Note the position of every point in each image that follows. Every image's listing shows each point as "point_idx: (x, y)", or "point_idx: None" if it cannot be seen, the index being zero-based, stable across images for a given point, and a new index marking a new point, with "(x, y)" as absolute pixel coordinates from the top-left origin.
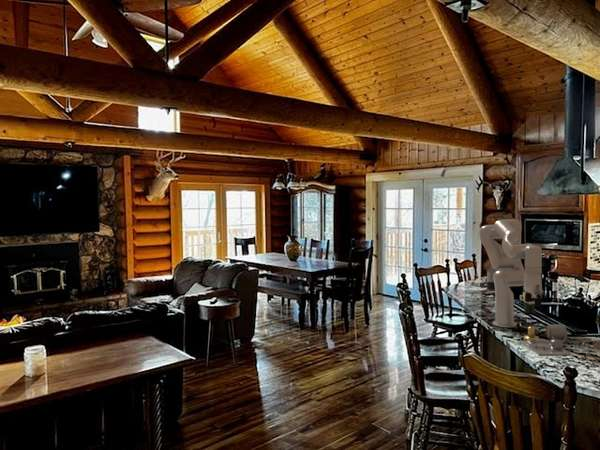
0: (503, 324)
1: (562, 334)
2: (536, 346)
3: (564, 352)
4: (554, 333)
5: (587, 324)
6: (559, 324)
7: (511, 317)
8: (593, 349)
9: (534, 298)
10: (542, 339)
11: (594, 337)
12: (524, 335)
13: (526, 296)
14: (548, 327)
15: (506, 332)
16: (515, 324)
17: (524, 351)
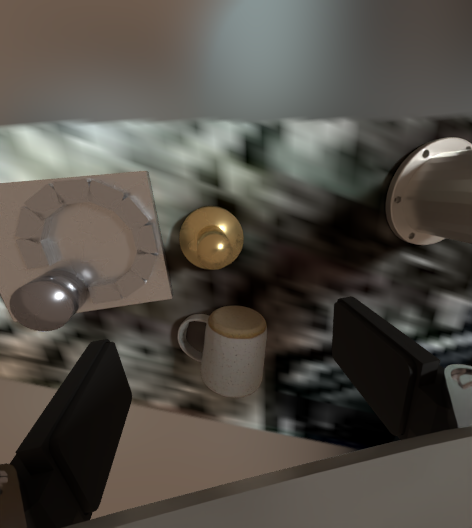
0: (412, 178)
1: (202, 357)
2: (32, 207)
3: (6, 303)
4: (205, 334)
5: (378, 440)
6: (241, 381)
7: (436, 221)
8: None
9: (41, 440)
10: (146, 268)
11: (253, 428)
12: (232, 215)
13: (383, 350)
14: (229, 330)
15: (321, 162)
16: (404, 235)
17: (5, 138)
